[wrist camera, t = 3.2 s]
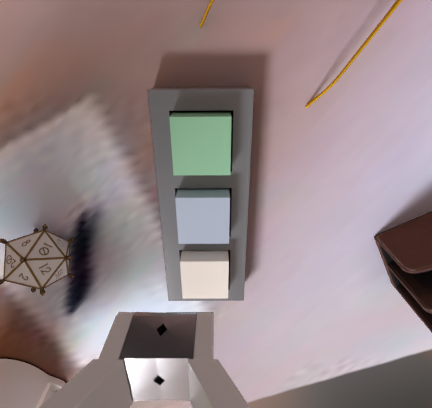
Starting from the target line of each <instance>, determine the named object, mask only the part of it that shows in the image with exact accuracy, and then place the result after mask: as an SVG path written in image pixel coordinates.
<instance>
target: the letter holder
mask: <svg viewBox="0 0 432 408" xmlns="http://www.w3.org/2000/svg"><path fill="white" fill-rule="evenodd" d="M374 238H375V241H376V244H377V246H378V249H379V251H380V254H381V257H382V259H383V262H384V265H385V267H386V270H387V273H388V275H389V278H390V280H391V283H392V285H393V286H394V288H396V289H397V291H398V292H399V293H400V294H401V296H402V297H403V298H404V299H405V301H406V302H407V303H408V304H409V305H410V307H411V308H412V309H413V310H414V312H415V313H416V314H417V315H418V317H419V318H420V319H421V320H422V321H423V322H424V324H425V325H426V326H427V327H428V328H429V330H430V331H431V332H432V212H431V213H428V214H426V215H423V216H421V217H418V218H416V219H414V220H412V221H409V222H407V223H404V224H402V225H400V226H397V227H395V228H393V229H390V230H388V231H386V232H383V233H381V234H379V235H377V236H375V237H374Z"/></svg>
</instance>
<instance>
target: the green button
mask: <svg viewBox="0 0 432 408" xmlns="http://www.w3.org/2000/svg"><path fill="white" fill-rule="evenodd" d="M169 119H170V133H171V147H172V160H173V174H174V175H230V168H231V113H230V112H173V113H172V114H171V116H170V117H169Z"/></svg>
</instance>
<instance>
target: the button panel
mask: <svg viewBox="0 0 432 408" xmlns="http://www.w3.org/2000/svg"><path fill="white" fill-rule="evenodd" d="M147 91H148V101H149V110H150V120H151V130H152V140H153V150H154V160H155V170H156V180H157V190H158V200H159V210H160V220H161V229H162V239H163V249H164V259H165V269H166V279H167V289H168V299H169V301H227V300H244V283H245V263H246V243H247V222H248V202H249V182H250V162H251V142H252V122H253V101H254V89H253V88H251V87H186V88H151V89H148V90H147ZM211 110H232V136H231V168H230V175H174V174H173V160H172V147H171V133H170V119H169V117H170V116H171V114H172V113H173V111H211ZM178 188H231V189H230V225H229V244H179V243H178V229H177V216H176V202H175V197H176V194H177V190H178ZM182 250H229V277H228V299H183V298H182V284H181V271H180V258H181V253H182Z"/></svg>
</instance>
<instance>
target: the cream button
mask: <svg viewBox="0 0 432 408" xmlns="http://www.w3.org/2000/svg"><path fill="white" fill-rule="evenodd" d="M180 271H181V284H182V298H183V299H228V277H229V257H228V250H182V253H181V258H180Z"/></svg>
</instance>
